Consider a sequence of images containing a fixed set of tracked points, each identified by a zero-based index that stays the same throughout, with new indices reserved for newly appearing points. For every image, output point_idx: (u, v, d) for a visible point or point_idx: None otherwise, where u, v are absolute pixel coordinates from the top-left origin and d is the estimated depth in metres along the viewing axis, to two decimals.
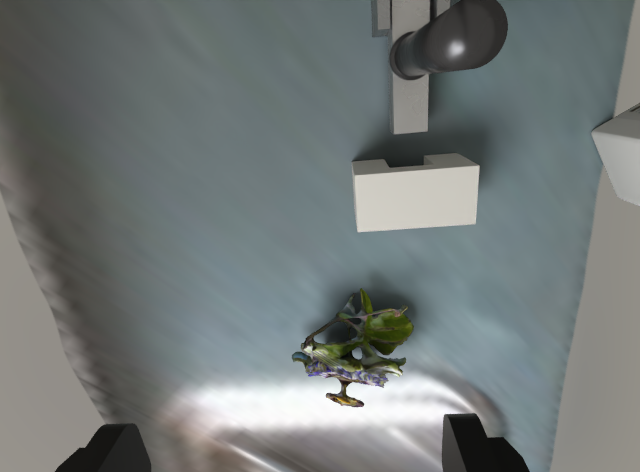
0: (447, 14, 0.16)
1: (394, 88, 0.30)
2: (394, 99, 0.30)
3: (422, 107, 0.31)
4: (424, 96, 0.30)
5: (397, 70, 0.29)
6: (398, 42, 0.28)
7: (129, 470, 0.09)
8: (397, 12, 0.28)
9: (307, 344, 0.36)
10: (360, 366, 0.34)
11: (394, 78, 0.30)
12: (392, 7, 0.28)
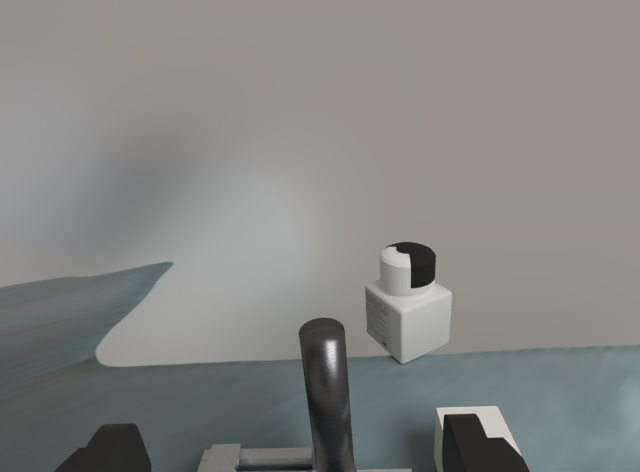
0: (307, 344, 0.22)
1: None
2: None
3: None
4: None
5: None
6: None
7: (128, 470, 0.09)
8: None
9: None
10: None
11: None
12: None
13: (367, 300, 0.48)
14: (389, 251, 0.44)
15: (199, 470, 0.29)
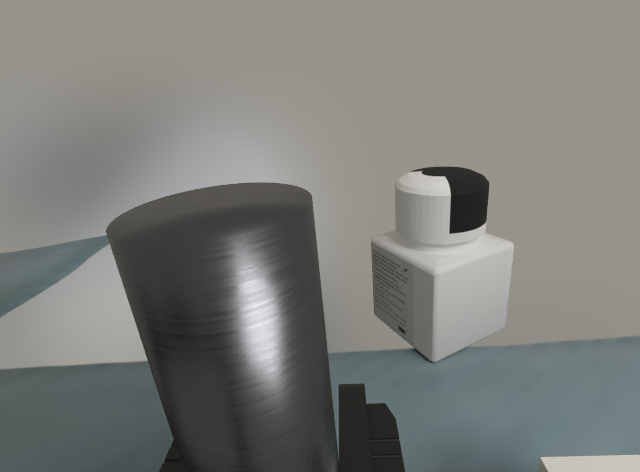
0: (119, 244, 0.04)
1: None
2: None
3: None
4: None
5: None
6: None
7: None
8: None
9: None
10: None
11: None
12: None
13: (374, 263, 0.31)
14: (412, 176, 0.27)
15: None
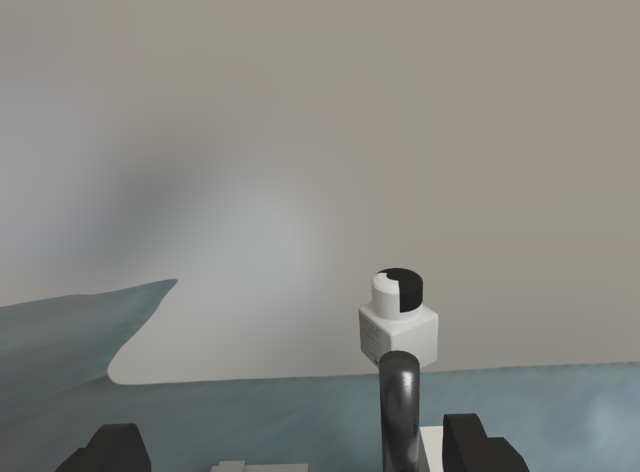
0: (389, 375, 0.25)
1: None
2: None
3: None
4: None
5: None
6: None
7: (128, 470, 0.09)
8: None
9: None
10: None
11: None
12: None
13: (360, 321, 0.52)
14: (380, 277, 0.48)
15: None
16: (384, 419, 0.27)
